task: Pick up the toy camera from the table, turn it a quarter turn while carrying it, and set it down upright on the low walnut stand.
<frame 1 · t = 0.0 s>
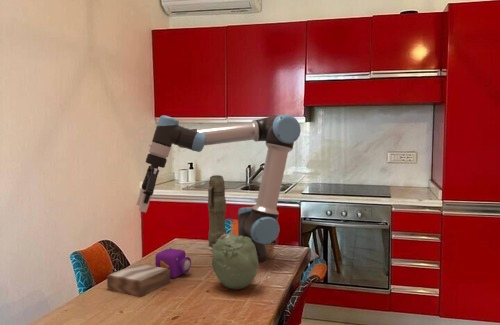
hand: (140, 208, 167), 28 cm above the table, tool tilted 20°, fingers open, 13 cm apart
cabbage: (235, 288, 159), on the table
toy camera: (174, 275, 174), on the table
stand: (139, 285, 162), on the table
olive green segmented column: (217, 245, 218), on the table
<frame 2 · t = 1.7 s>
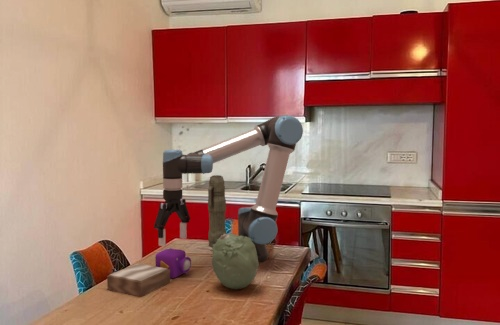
hand: (173, 242, 173), 13 cm above the table, tool pointing down, fingers open, 13 cm apart
nothing on the table moved.
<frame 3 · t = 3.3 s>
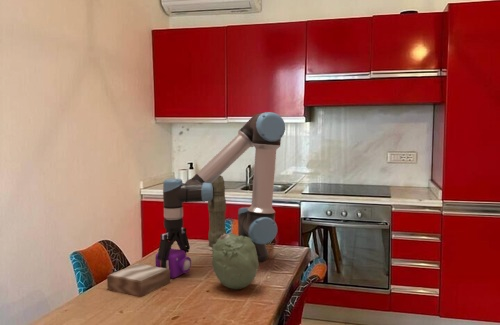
hand: (174, 272, 174), 1 cm above the table, tool pointing down, fingers open, 11 cm apart
toy camera: (174, 275, 175), on the table, touching gripper
everything else where it was.
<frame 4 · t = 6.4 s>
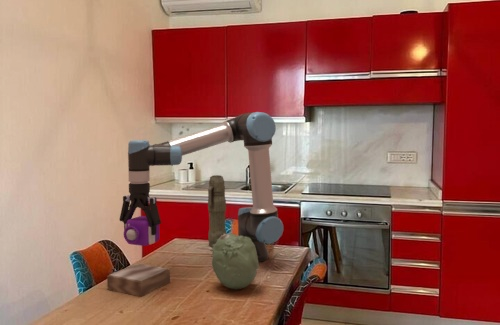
hand: (140, 241, 162), 16 cm above the table, tool pointing down, fingers closed on toy camera, 10 cm apart
toy camera: (141, 244, 162), point 15 cm above the table, touching gripper
everything else where it was.
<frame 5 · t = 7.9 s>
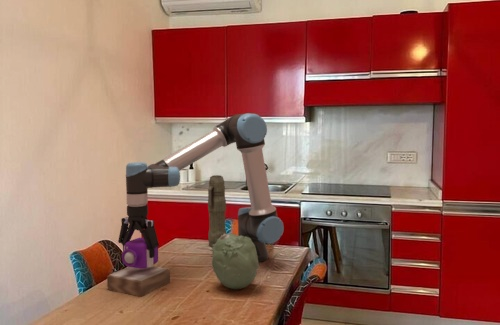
hand: (138, 264, 162), 8 cm above the table, tool pointing down, fingers closed on toy camera, 10 cm apart
toy camera: (139, 266, 161), point 7 cm above the table, touching gripper
everything else where it was.
when the fingers open (7 cm above the table, at t = 9.1 s): toy camera stays where it is, resting on stand.
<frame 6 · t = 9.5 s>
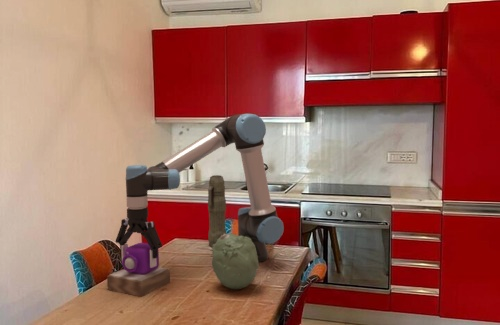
hand: (138, 264, 162), 8 cm above the table, tool pointing down, fingers open, 13 cm apart
toy camera: (140, 272, 162), point 5 cm above the table, touching stand
everything else where it was.
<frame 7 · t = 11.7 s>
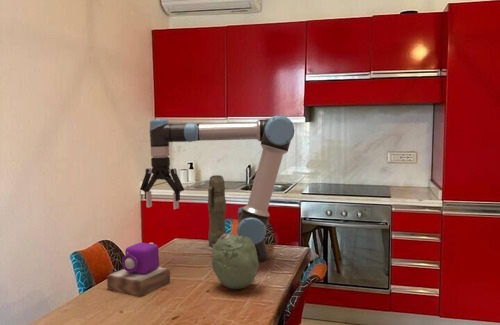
hand: (162, 207, 181), 25 cm above the table, tool pointing down, fingers open, 13 cm apart
nothing on the table moved.
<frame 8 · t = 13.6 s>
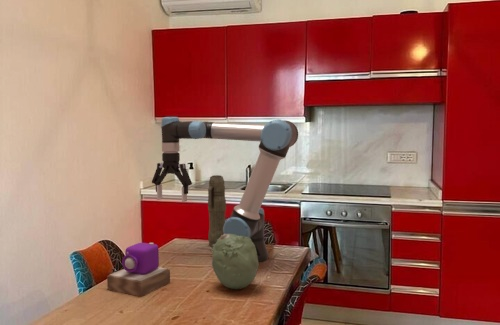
hand: (171, 200, 193), 27 cm above the table, tool pointing down, fingers open, 13 cm apart
nothing on the table moved.
at the end: toy camera 0.4 cm from the stand (horizontally); toy camera touching stand; toy camera tilted 0° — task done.
